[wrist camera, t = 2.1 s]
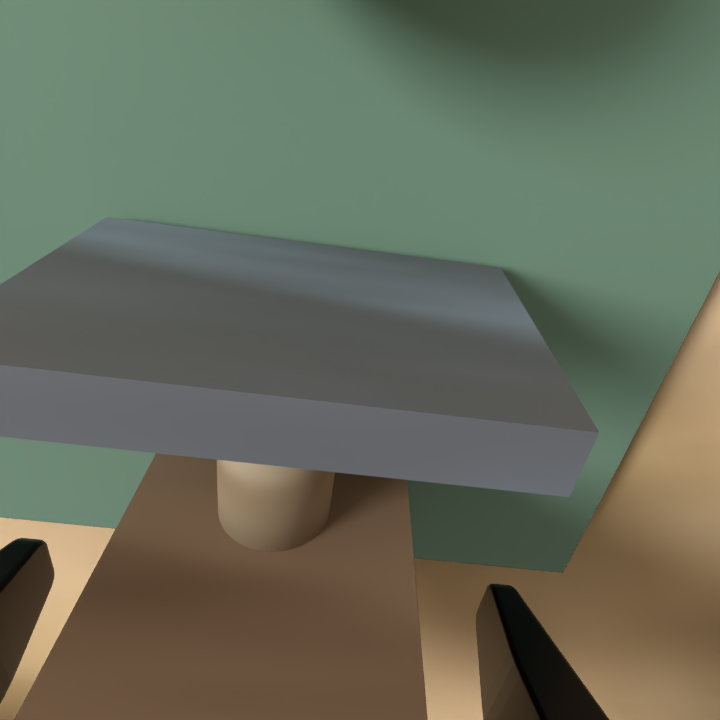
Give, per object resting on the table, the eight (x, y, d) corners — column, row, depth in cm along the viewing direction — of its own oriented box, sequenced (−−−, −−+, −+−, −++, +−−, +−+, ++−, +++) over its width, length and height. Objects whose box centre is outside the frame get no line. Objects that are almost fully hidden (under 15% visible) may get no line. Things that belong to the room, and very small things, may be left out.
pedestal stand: (415, 565, 12) (464, 1111, 6) (148, 539, 11) (-100, 1085, 5) (500, 267, 8) (901, 935, 2) (106, 216, 8) (-856, 825, 2)
